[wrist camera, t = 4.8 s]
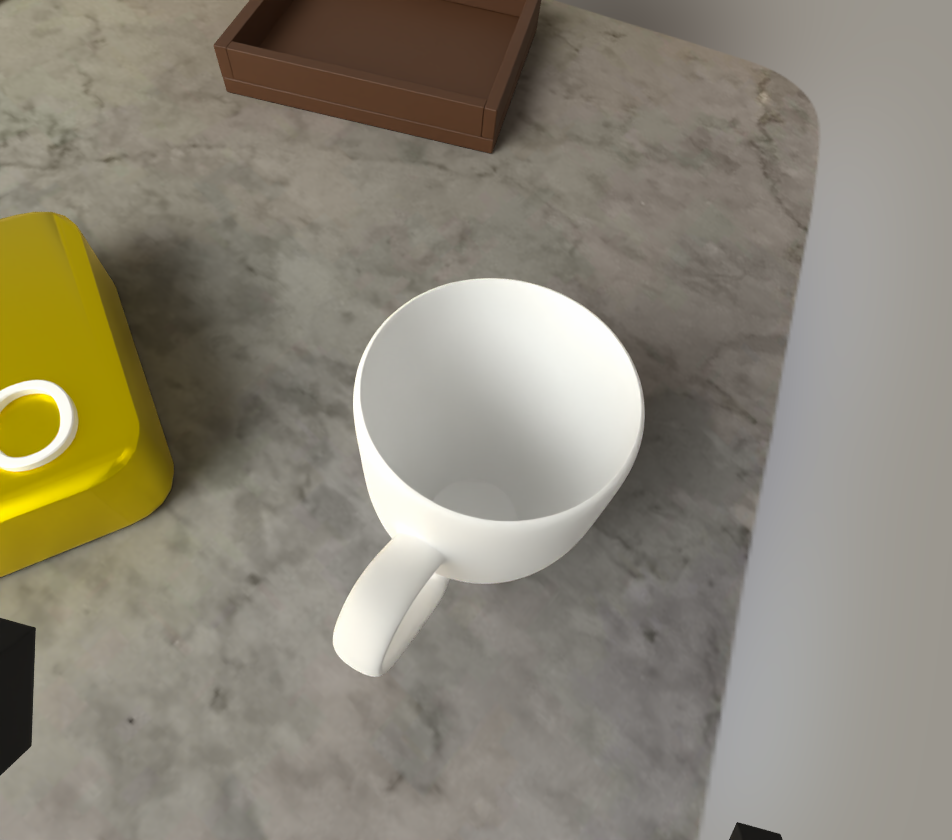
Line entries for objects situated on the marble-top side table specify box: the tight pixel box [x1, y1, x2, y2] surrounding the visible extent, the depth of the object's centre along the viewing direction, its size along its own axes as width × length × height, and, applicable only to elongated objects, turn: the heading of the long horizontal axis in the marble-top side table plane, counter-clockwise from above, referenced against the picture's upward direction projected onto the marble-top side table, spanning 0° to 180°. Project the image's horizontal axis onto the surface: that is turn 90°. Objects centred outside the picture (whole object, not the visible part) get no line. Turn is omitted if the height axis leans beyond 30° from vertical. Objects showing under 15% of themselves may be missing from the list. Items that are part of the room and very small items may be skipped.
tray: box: [214, 0, 541, 153], centre depth 42 cm, size 18×15×3 cm
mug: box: [333, 278, 645, 677], centre depth 21 cm, size 12×8×11 cm
